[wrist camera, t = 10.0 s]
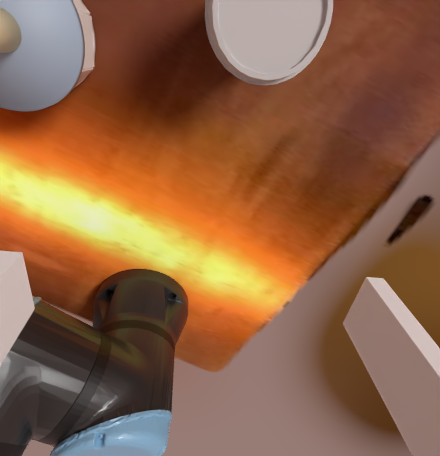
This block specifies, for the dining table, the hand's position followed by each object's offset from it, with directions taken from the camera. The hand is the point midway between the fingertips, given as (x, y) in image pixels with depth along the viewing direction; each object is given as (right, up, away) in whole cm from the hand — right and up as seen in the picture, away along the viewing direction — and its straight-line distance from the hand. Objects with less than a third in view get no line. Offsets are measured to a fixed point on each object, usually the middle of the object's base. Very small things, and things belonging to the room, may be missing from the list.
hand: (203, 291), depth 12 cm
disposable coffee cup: (+4, +24, +20) cm, 31 cm away
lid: (-17, +19, +14) cm, 29 cm away
